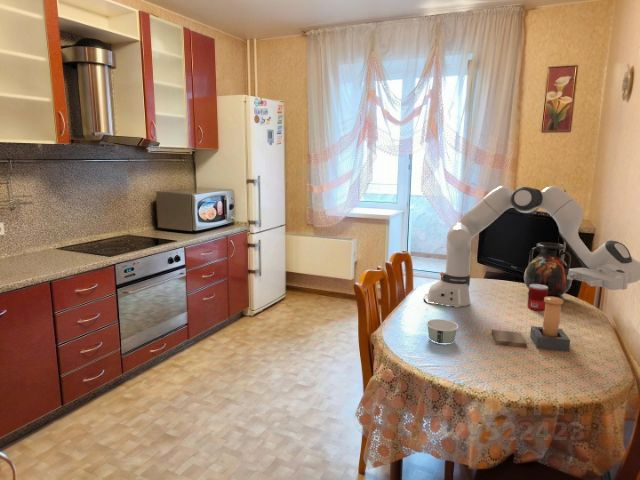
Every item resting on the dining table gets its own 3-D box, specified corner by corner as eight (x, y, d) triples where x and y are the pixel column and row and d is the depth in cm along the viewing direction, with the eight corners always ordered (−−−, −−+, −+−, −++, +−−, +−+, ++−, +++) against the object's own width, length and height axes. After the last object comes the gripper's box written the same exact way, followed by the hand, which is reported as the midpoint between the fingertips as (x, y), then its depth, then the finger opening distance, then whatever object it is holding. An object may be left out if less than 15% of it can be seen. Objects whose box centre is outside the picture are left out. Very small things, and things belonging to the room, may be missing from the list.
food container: (459, 348, 163) (460, 331, 161) (426, 345, 165) (426, 328, 164) (455, 335, 174) (456, 320, 173) (425, 333, 177) (426, 317, 175)
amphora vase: (515, 297, 222) (520, 244, 217) (531, 289, 237) (536, 238, 232) (561, 308, 207) (567, 250, 202) (575, 298, 222) (581, 244, 217)
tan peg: (541, 346, 165) (546, 301, 161) (537, 339, 171) (542, 295, 167) (560, 348, 163) (565, 302, 160) (555, 341, 169) (560, 297, 166)
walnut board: (495, 344, 166) (495, 340, 166) (491, 333, 177) (491, 329, 176) (526, 347, 164) (526, 343, 163) (520, 335, 174) (520, 332, 174)
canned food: (548, 311, 203) (551, 288, 201) (531, 311, 203) (534, 288, 201) (541, 305, 210) (543, 283, 208) (524, 305, 211) (526, 283, 208)
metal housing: (536, 348, 163) (537, 337, 162) (530, 336, 173) (531, 326, 173) (568, 351, 160) (570, 340, 159) (560, 339, 171) (561, 328, 170)
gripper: (584, 262, 179) (557, 266, 176) (632, 274, 160) (602, 279, 156) (584, 277, 181) (556, 281, 177) (630, 290, 161) (601, 295, 158)
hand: (578, 280), depth 167 cm, fingers open, 8 cm apart
